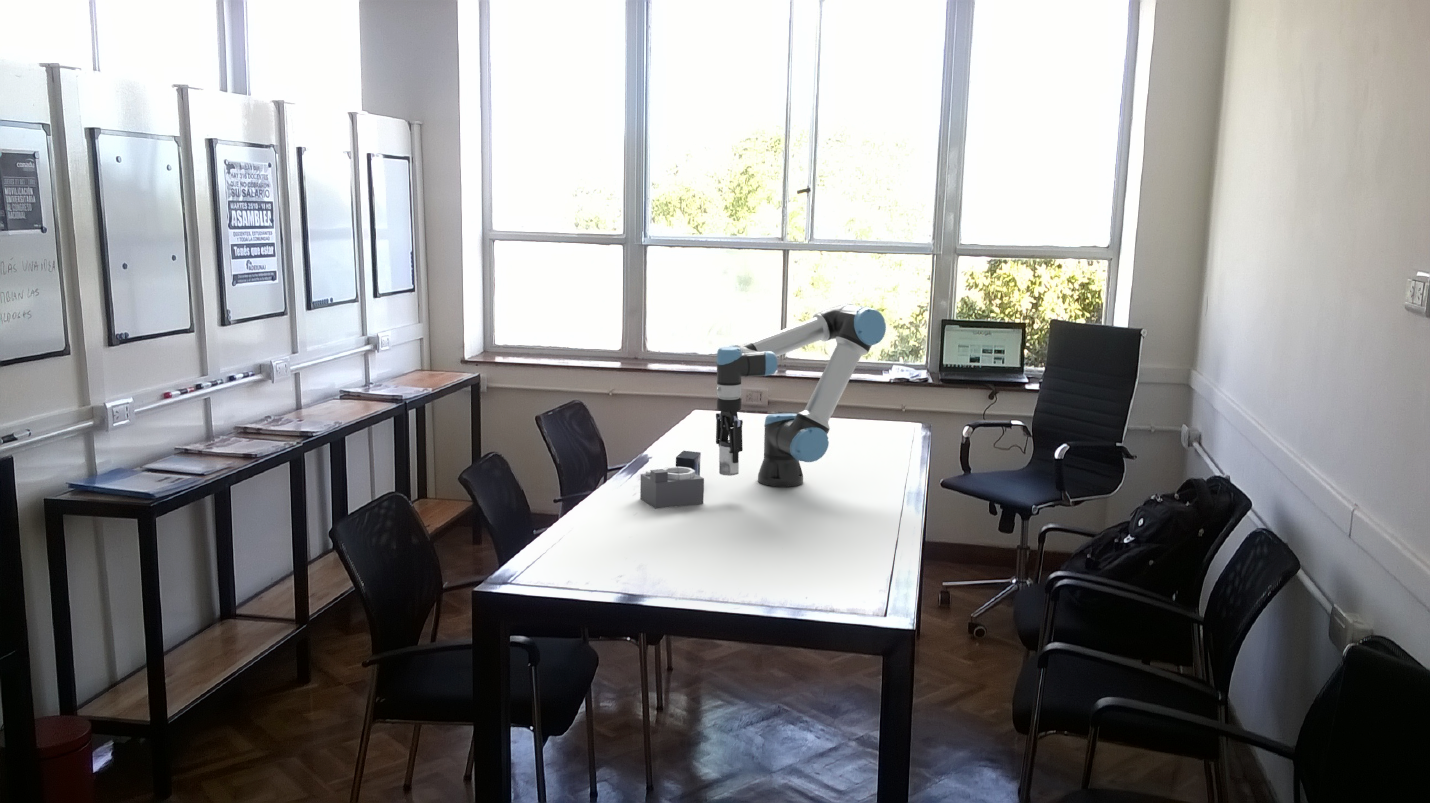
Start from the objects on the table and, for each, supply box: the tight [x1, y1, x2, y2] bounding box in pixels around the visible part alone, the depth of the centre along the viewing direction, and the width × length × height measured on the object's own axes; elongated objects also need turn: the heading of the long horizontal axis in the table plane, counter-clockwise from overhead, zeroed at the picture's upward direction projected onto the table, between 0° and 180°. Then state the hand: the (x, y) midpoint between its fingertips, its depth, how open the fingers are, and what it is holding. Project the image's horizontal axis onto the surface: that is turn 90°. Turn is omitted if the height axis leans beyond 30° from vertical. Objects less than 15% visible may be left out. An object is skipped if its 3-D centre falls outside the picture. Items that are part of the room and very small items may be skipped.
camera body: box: [639, 466, 705, 510], centre depth 339 cm, size 16×12×11 cm
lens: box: [718, 439, 740, 477], centre depth 342 cm, size 6×6×10 cm
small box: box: [675, 450, 702, 477], centre depth 359 cm, size 11×6×10 cm, turn 168°
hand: (729, 470), depth 343 cm, fingers closed on lens, 6 cm apart
